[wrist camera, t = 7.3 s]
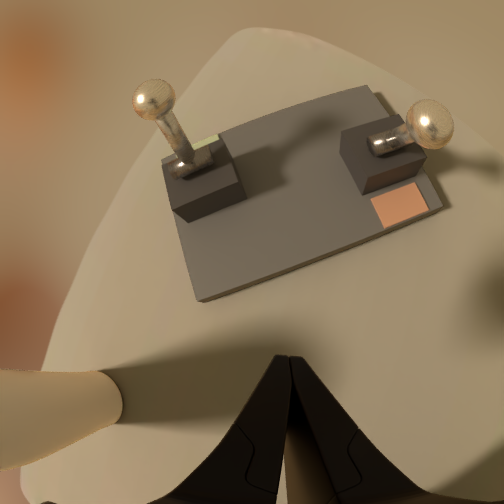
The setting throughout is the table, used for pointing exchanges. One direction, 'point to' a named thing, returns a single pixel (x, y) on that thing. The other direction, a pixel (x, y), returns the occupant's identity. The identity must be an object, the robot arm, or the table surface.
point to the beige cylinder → (52, 412)
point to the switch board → (294, 192)
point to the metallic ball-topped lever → (170, 127)
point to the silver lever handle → (416, 129)
